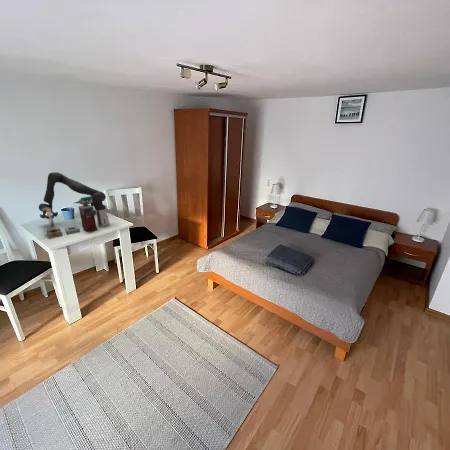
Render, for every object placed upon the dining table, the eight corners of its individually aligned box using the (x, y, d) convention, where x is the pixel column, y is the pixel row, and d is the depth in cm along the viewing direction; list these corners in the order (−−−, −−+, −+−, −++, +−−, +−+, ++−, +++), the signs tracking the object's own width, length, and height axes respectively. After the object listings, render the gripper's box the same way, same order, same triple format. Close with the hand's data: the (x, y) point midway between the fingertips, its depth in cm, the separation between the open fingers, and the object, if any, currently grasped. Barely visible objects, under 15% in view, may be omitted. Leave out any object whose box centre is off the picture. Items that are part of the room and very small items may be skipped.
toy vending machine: (88, 233, 221) (82, 203, 211) (83, 230, 228) (77, 201, 218) (98, 230, 228) (92, 201, 217) (93, 227, 234) (87, 199, 224)
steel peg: (55, 225, 214) (51, 208, 208) (52, 227, 211) (48, 209, 205) (52, 225, 214) (47, 208, 208) (49, 226, 211) (44, 209, 205)
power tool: (77, 219, 254) (73, 201, 247) (74, 217, 258) (70, 199, 250) (107, 212, 278) (104, 195, 270) (103, 210, 282) (101, 194, 274)
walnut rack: (60, 232, 222) (59, 228, 221) (62, 235, 215) (61, 231, 214) (47, 234, 216) (46, 230, 215) (48, 238, 209) (47, 234, 208)
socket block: (77, 228, 231) (76, 225, 230) (79, 231, 224) (79, 228, 223) (65, 231, 225) (64, 228, 224) (67, 234, 218) (66, 231, 217)
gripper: (37, 209, 214) (39, 215, 202) (56, 207, 222) (59, 211, 210) (39, 217, 216) (41, 223, 204) (58, 214, 225) (61, 220, 213)
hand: (50, 217), depth 207 cm, fingers closed on steel peg, 3 cm apart
